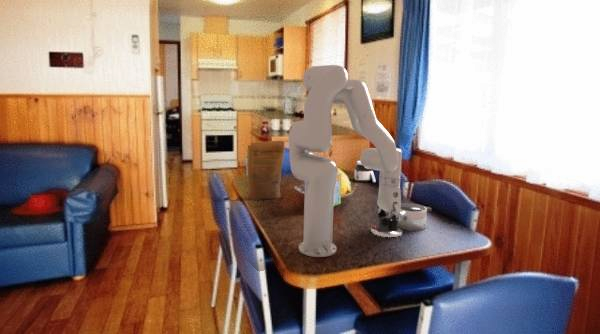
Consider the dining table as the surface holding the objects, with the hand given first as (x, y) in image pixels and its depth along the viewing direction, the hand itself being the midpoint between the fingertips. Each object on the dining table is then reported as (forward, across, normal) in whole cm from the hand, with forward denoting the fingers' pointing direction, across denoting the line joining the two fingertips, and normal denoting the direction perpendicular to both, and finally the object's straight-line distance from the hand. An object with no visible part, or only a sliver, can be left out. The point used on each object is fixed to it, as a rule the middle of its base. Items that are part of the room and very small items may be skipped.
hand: (386, 226), depth 154 cm
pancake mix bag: (+2, +56, +35) cm, 66 cm away
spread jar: (+3, +81, -29) cm, 86 cm away
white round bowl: (+3, 0, 0) cm, 3 cm away
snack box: (+3, +36, +13) cm, 38 cm away
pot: (+2, +5, -13) cm, 14 cm away
